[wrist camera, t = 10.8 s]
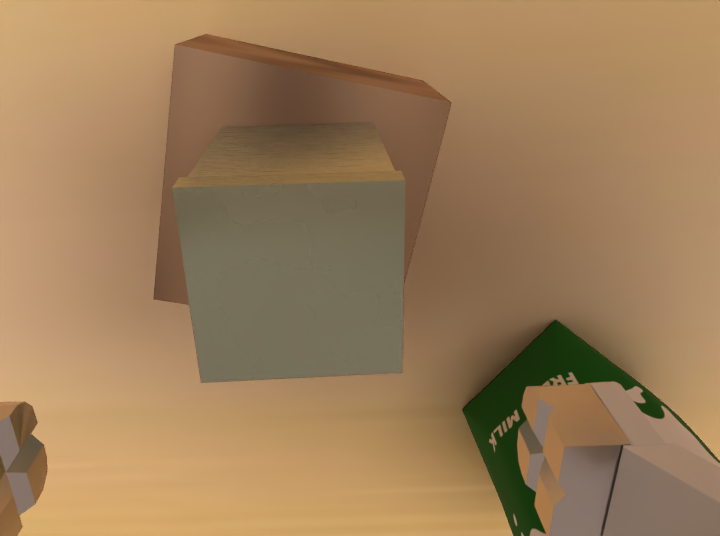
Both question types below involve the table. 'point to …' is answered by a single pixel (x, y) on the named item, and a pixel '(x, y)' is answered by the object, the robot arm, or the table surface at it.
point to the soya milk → (505, 415)
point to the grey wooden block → (294, 253)
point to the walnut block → (289, 122)
